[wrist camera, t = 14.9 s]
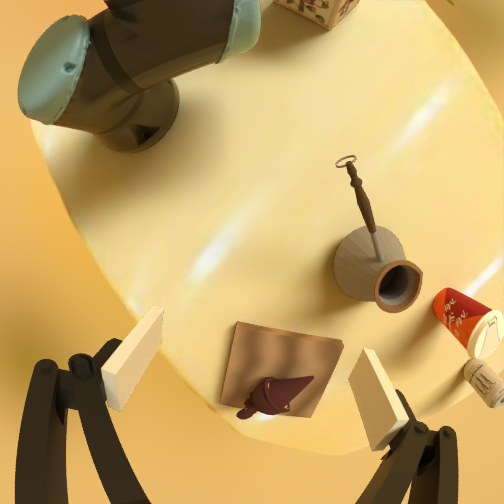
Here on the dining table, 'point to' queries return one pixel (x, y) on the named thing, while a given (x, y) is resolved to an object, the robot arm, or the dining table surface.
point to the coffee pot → (375, 260)
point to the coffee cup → (470, 322)
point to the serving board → (279, 364)
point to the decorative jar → (320, 10)
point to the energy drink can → (485, 382)
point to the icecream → (273, 396)
